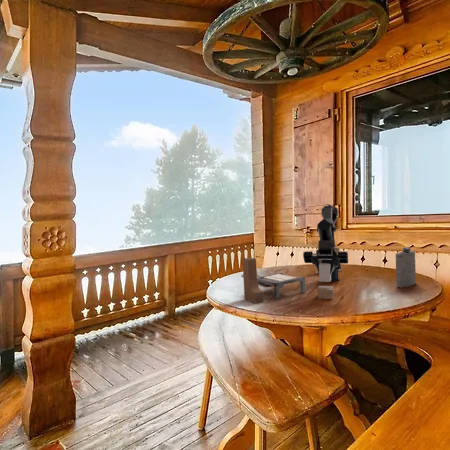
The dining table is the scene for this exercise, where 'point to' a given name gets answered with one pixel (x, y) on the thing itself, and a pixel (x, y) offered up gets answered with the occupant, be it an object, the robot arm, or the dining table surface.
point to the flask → (405, 268)
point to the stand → (325, 292)
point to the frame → (282, 283)
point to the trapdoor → (277, 278)
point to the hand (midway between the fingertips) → (324, 273)
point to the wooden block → (251, 281)
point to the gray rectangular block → (324, 272)
